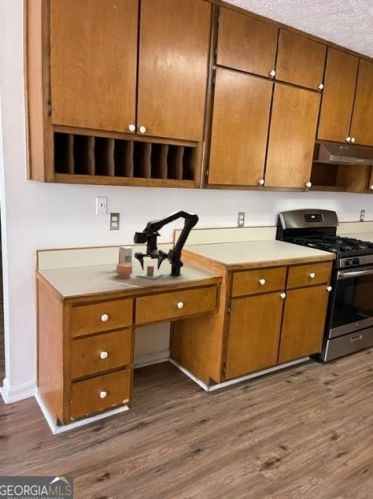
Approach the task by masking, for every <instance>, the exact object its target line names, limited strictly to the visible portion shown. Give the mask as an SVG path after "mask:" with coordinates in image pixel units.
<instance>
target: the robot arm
mask: <svg viewBox="0 0 373 499" xmlns="http://www.w3.org/2000/svg"><path fill="white" fill-rule="evenodd" d="M180 218H182V219H184V223H183V228H182V230H181V232H180V234H179V237H178V239H177V242H176V243H175V245H174V247H173V248H172V249H171V248H170V249H168V252H165V251H163V250H162V249H158V237H161V236H162V235H161V233H160V232H159V231H160V230H161V229H162V228H164V227H165V226H167V225H168V224H170V223H172V222H174V221H176V220H179V219H180ZM199 221H200V218H199V215H198V214H195V213H193V212H186V211H184V210H182V209H177V210H176V211H174V212H172V213H169V214H168V215H165V216H163V217H162V218H159V219H153V220H150V221H148V222H147V224H146V226H145V228H144V229H143V230H142V231H140V232H139V231H135V232H134V235H133V244H134V245H145V244H146V251H145V253H143V252H135V253H134V258H135V259H136V260H138V261H139V263H140V268H141V269H142V271H144V270H145V268H144V267H145V266H144V264H145V262H144V261H145V259H144V258H150V259H151V260H157V264H156V265H157V270H158V271H159V270H160V267H161V265H162V263H163V262H164V261H166V259H167V261H168V262H169V264H170V265H171V266H170V273H169V274H168V276H172V277H181V276H182V275H183V273H181V272H182V271H181V268H183V266H184V263H183V261H182V260H181V259H182V251H183V248H184V246H185V244H186V243H187V240H188V238H189V235H190V233H191V231H192V230H193V229H194V228H195V226H196V225H197V224H198V222H199Z"/></svg>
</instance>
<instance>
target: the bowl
mask: <svg viewBox="0 0 373 499" xmlns="http://www.w3.org/2000/svg"><path fill="white" fill-rule="evenodd" d="M115 272H116V274H117V275H118V277H119V278H123V279H126V278H127V279H128V278H130V277H131V275H132V274H133V264H126V263H121V264H119V263H117V264H116V271H115Z"/></svg>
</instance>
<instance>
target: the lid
mask: <svg viewBox="0 0 373 499" xmlns="http://www.w3.org/2000/svg"><path fill="white" fill-rule="evenodd" d="M154 271H155V266H154V265H147V266H146V271H144V272H141V273H139V274H137V275H136V276H137V277H136V278H139V277H142V278H141V279H144V278H147V279H146V280H149V279H153V280H152V281H156V280H155V279H157V278H159V277H161V276H163V275H164V274H163V273H159V272H154ZM163 277H164V276H163ZM161 278H162V277H161ZM159 279H160V278H159ZM157 280H158V279H157Z"/></svg>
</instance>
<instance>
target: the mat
mask: <svg viewBox="0 0 373 499" xmlns="http://www.w3.org/2000/svg"><path fill="white" fill-rule="evenodd" d="M164 276H165V275H164V274H163V276H161V277H159V278H157V279H155V280H153V279H147V278H142V277H137V275H136V276H134V277H135V278H139V279H143V280H144V279H146V280H150V281H157V280H159V279H161V278H163V277H164Z"/></svg>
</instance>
